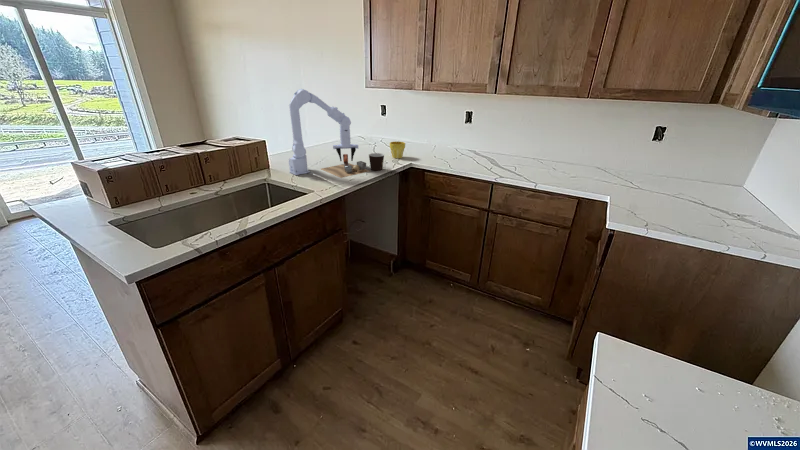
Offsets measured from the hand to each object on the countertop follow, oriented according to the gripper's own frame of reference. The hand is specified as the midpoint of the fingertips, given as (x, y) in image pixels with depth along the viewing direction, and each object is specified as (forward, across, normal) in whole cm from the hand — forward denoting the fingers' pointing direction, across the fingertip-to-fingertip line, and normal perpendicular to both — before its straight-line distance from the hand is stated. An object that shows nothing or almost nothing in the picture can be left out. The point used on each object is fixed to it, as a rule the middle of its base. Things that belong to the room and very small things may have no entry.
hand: (346, 160), depth 197 cm
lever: (+3, 0, +8) cm, 8 cm away
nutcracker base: (+4, +2, +9) cm, 10 cm away
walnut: (+3, -4, +13) cm, 14 cm away
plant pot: (+4, -35, -21) cm, 41 cm away
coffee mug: (+4, -17, +10) cm, 21 cm away
